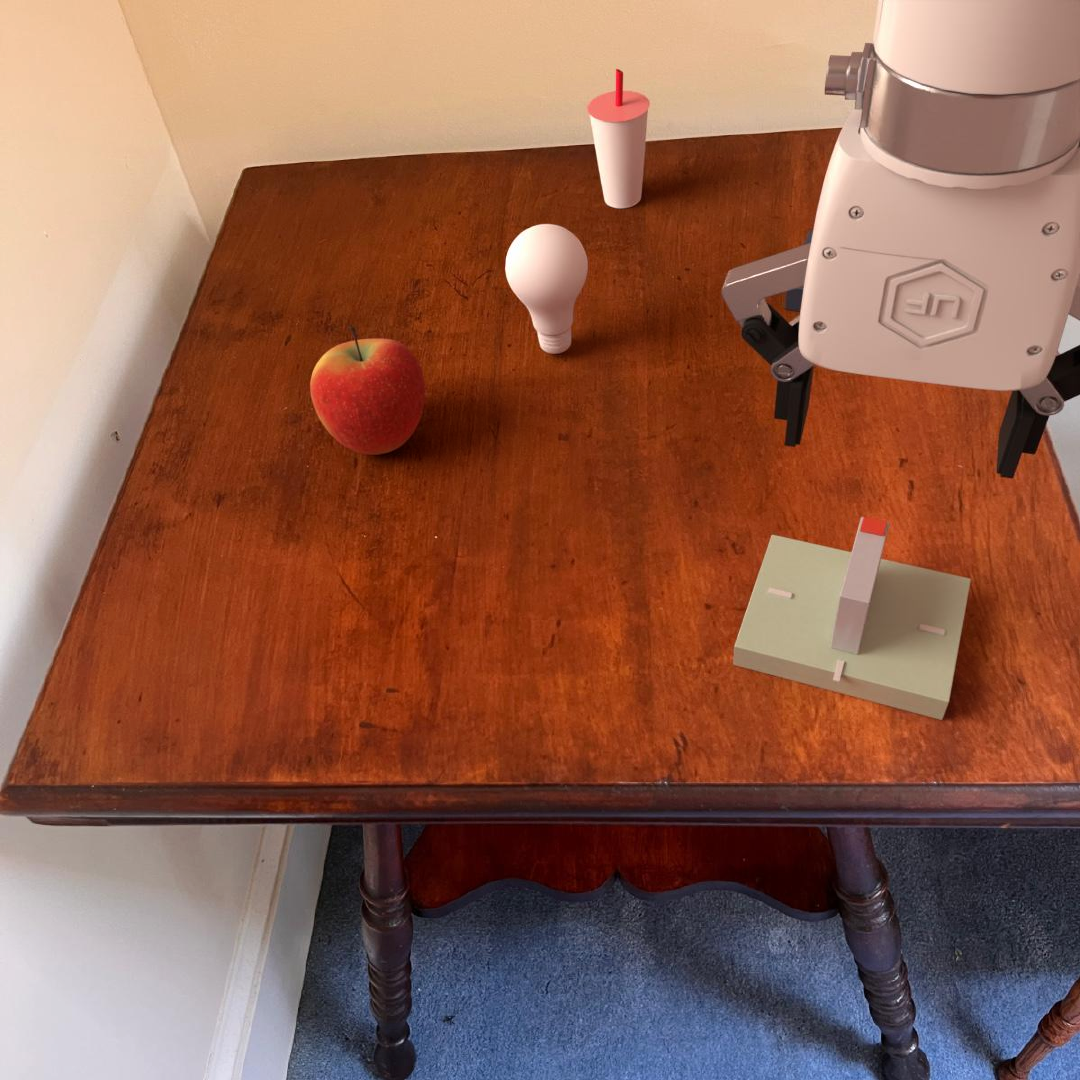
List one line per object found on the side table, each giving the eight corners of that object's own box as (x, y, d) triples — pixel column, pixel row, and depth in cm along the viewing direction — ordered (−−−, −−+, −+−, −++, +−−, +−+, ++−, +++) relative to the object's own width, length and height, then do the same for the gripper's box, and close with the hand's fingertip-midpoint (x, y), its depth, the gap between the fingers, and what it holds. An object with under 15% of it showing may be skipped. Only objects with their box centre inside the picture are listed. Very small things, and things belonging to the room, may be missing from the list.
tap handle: (857, 655, 59) (870, 600, 55) (829, 648, 60) (840, 593, 56) (877, 576, 62) (890, 519, 58) (850, 570, 63) (861, 513, 59)
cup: (652, 181, 97) (649, 53, 88) (651, 213, 94) (647, 84, 85) (595, 183, 98) (587, 57, 89) (591, 215, 94) (582, 87, 85)
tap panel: (965, 591, 64) (973, 569, 62) (940, 729, 58) (948, 709, 56) (772, 547, 67) (774, 525, 66) (730, 673, 62) (731, 652, 60)
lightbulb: (551, 387, 80) (535, 266, 71) (503, 351, 83) (483, 232, 75) (610, 350, 82) (602, 229, 74) (561, 316, 85) (548, 197, 77)
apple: (327, 484, 75) (288, 380, 68) (333, 410, 81) (297, 305, 73) (436, 470, 75) (409, 364, 68) (435, 396, 80) (410, 290, 73)
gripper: (710, 134, 37) (702, 469, 50) (1264, 170, 32) (1096, 530, 45) (750, 37, 41) (733, 368, 54) (1241, 56, 36) (1094, 414, 49)
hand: (898, 441), depth 50 cm, fingers open, 9 cm apart
